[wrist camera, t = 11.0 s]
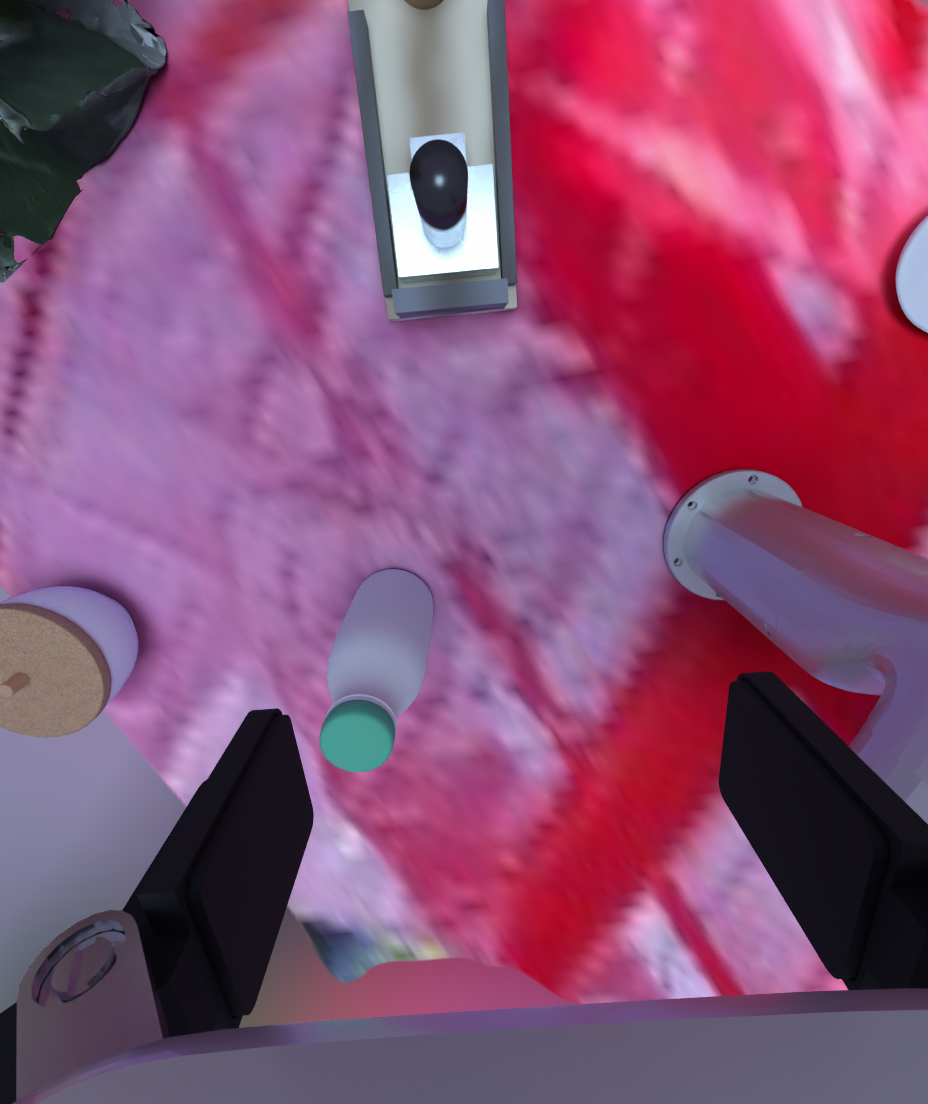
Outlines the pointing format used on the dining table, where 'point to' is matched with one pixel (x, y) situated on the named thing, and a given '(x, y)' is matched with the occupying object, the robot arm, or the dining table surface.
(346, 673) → the milk bottle
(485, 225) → the ram
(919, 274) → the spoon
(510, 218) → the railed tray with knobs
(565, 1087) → the robot arm
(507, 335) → the dining table surface
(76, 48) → the rose bouquet
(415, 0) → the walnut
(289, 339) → the dining table surface
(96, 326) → the dining table surface
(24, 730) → the lidded bowl
